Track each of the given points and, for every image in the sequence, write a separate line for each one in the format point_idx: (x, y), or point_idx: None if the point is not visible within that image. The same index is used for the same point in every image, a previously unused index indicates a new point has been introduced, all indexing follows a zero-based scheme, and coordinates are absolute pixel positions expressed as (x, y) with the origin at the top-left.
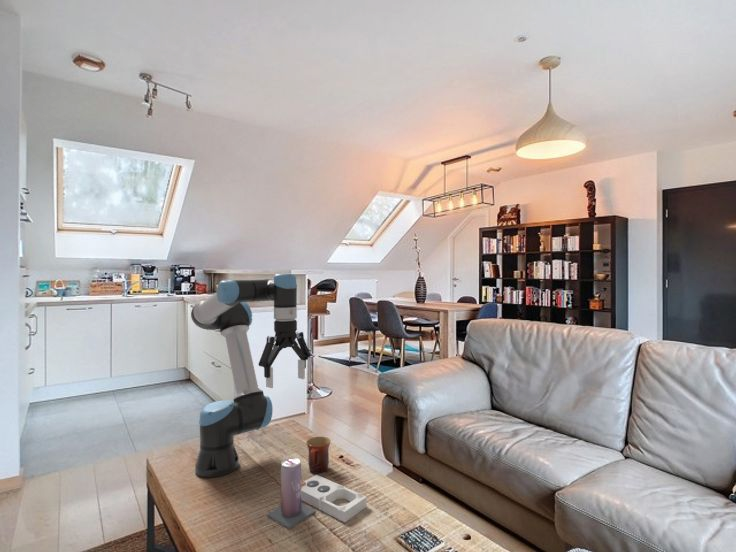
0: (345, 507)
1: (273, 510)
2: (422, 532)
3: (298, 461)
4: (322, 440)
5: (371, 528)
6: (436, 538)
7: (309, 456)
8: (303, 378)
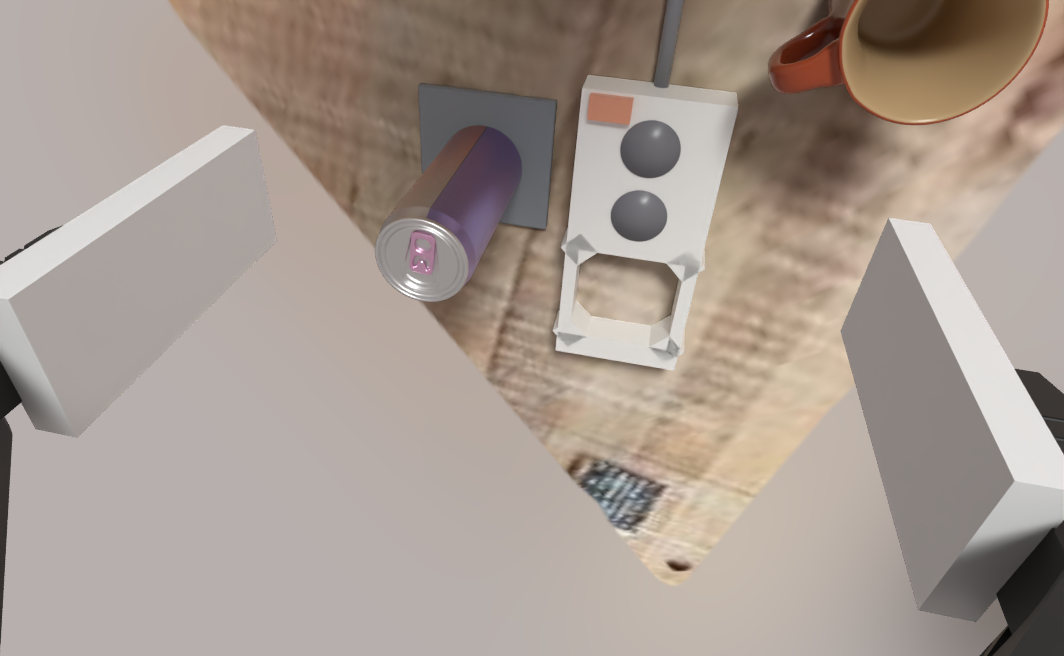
0: (578, 342)
1: (449, 90)
2: (640, 496)
3: (456, 279)
4: (1019, 7)
5: (582, 398)
6: (635, 521)
7: None
8: (850, 338)
